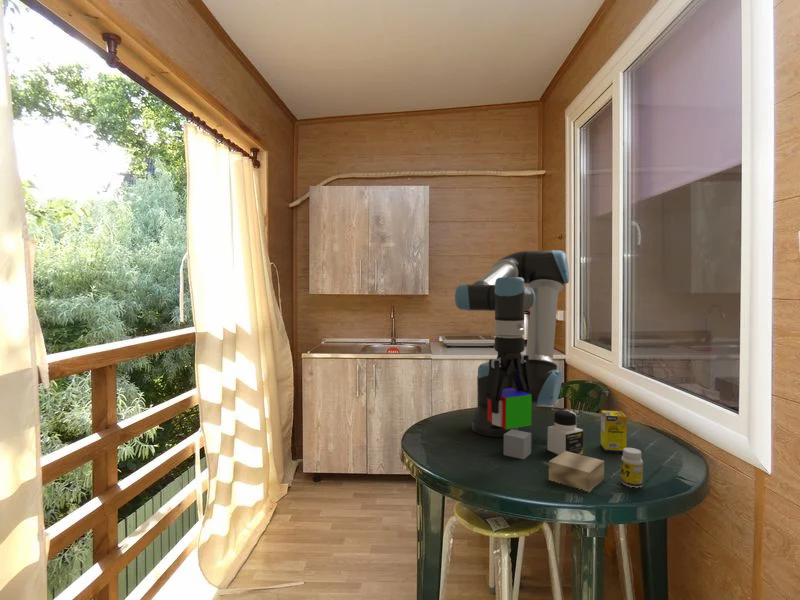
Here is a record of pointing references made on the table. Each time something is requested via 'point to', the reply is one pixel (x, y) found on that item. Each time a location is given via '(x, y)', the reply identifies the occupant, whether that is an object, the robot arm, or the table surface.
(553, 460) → the oak block
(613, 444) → the supplement box
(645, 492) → the table surface
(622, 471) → the supplement bottle
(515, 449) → the grey block
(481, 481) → the table surface
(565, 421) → the medicine bottle
